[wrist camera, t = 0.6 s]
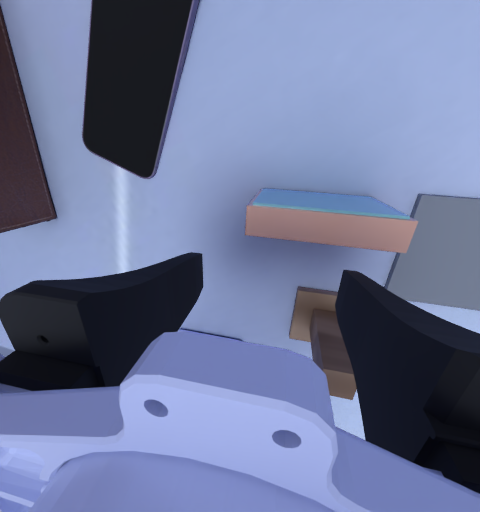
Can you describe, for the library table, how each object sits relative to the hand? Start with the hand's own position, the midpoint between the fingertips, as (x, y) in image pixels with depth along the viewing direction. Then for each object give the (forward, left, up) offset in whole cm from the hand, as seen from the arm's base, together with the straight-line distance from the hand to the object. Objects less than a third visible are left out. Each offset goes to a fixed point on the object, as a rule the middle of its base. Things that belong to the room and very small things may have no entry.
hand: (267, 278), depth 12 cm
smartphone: (+11, +12, -10) cm, 19 cm away
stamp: (-9, -6, -10) cm, 14 cm away
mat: (-1, -15, -10) cm, 18 cm away
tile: (+2, -3, -10) cm, 10 cm away
